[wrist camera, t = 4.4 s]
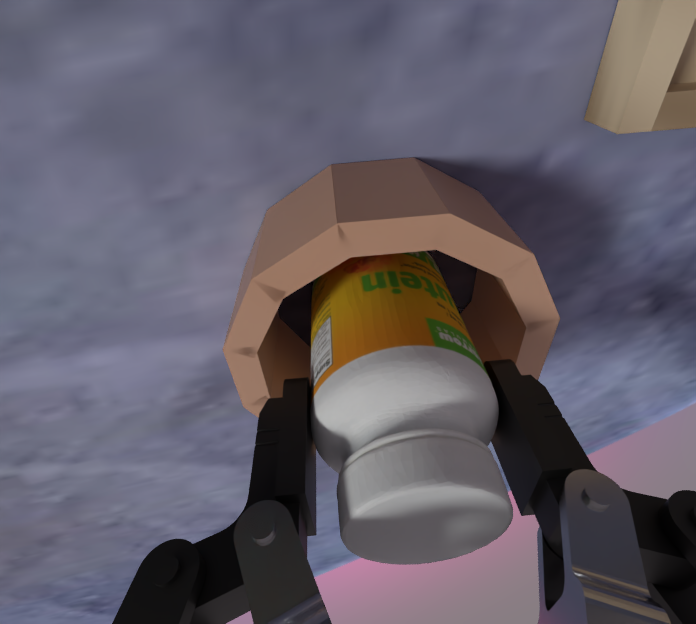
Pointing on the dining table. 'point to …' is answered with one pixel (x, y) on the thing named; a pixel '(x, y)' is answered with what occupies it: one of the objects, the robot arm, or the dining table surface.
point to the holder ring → (377, 239)
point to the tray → (647, 68)
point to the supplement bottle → (403, 412)
